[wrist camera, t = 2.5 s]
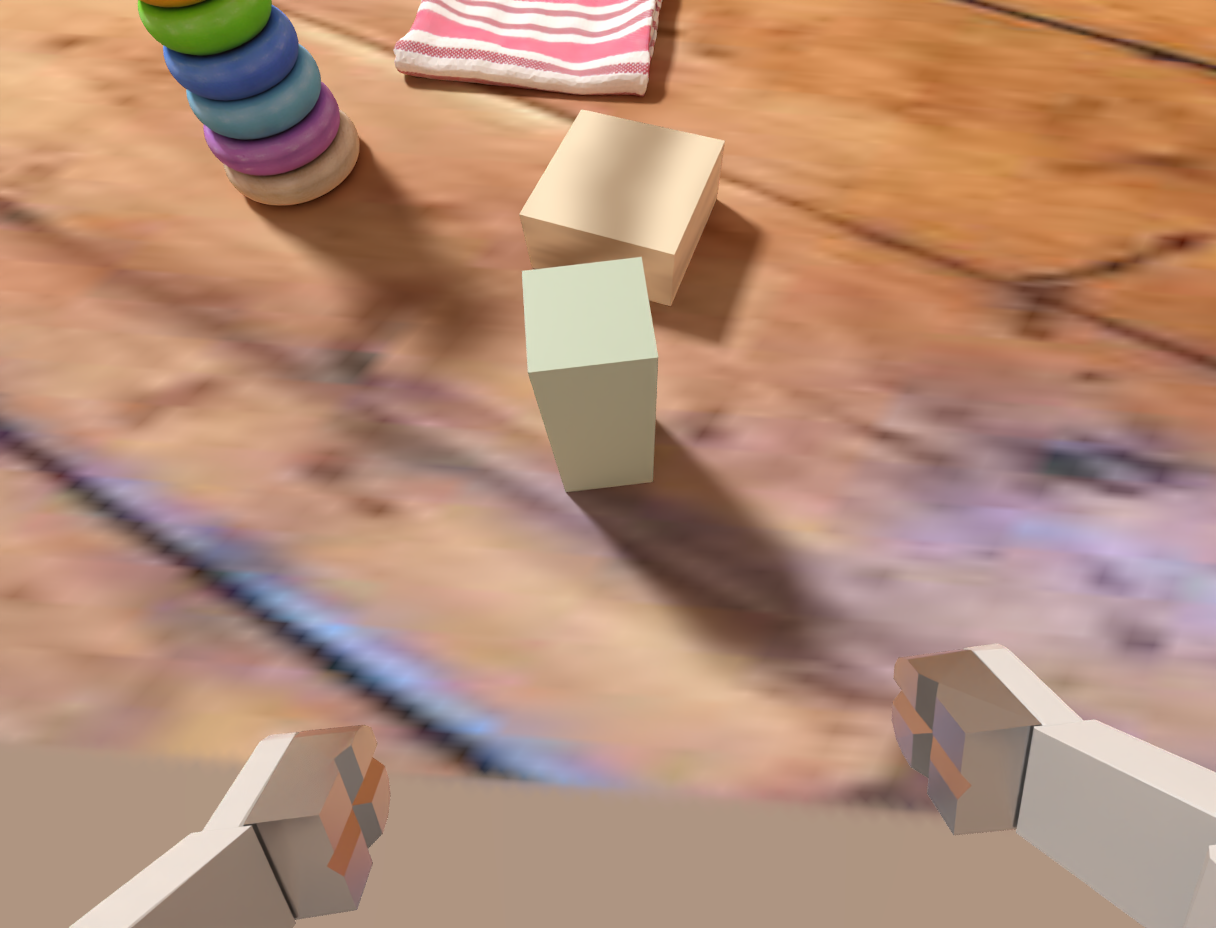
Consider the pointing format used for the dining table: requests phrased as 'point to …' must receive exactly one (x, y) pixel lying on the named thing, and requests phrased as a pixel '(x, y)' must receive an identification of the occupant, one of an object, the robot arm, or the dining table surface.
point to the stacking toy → (256, 96)
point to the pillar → (594, 370)
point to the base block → (624, 199)
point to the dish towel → (534, 44)
